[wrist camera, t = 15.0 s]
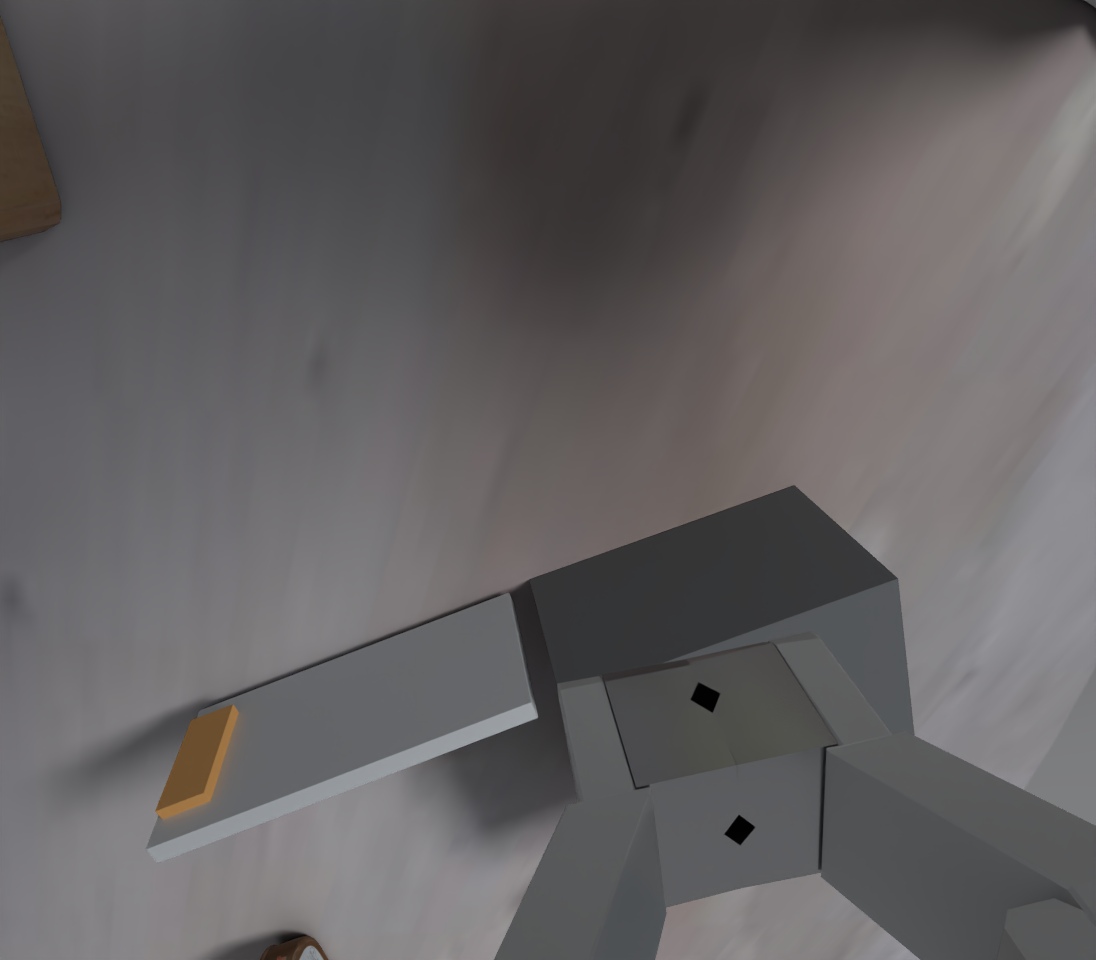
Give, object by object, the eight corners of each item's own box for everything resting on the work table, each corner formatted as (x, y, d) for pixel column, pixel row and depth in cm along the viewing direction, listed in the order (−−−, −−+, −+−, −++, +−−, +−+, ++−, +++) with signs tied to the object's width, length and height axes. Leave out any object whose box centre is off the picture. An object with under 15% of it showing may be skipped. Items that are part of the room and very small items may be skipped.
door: (514, 606, 41) (538, 717, 33) (208, 722, 41) (157, 863, 33) (505, 584, 41) (526, 692, 33) (193, 702, 41) (138, 841, 33)
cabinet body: (794, 485, 42) (898, 578, 33) (831, 701, 49) (923, 825, 40) (529, 579, 41) (560, 699, 32) (607, 782, 49) (650, 925, 40)
